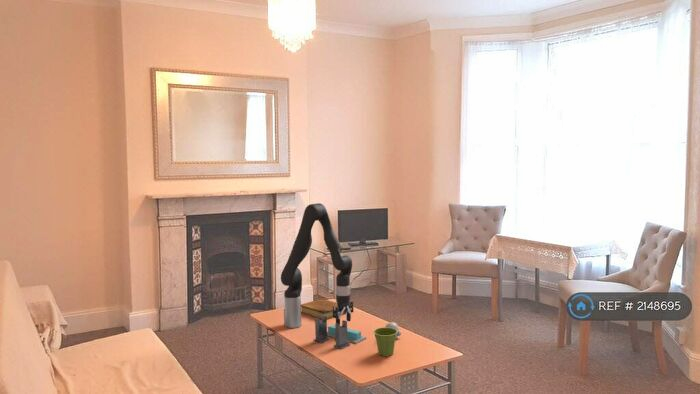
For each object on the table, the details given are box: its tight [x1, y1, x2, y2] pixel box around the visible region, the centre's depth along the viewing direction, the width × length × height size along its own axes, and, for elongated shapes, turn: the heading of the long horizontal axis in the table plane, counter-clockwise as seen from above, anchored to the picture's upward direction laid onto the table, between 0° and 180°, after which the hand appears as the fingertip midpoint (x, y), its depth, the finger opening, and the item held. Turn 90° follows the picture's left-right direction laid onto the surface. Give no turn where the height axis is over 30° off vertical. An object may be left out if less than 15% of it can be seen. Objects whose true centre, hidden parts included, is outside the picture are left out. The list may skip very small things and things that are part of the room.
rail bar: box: [327, 324, 362, 340], centre depth 292 cm, size 20×4×4 cm, turn 51°
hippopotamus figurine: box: [384, 321, 402, 341], centre depth 286 cm, size 7×12×8 cm, turn 129°
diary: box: [301, 298, 347, 321], centre depth 336 cm, size 23×19×6 cm
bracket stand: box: [313, 316, 351, 350], centre depth 282 cm, size 19×7×12 cm, turn 50°
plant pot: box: [372, 326, 398, 357], centre depth 266 cm, size 12×12×11 cm
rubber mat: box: [327, 331, 367, 345], centre depth 292 cm, size 23×9×1 cm, turn 50°
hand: (343, 323), depth 292 cm, fingers open, 8 cm apart
